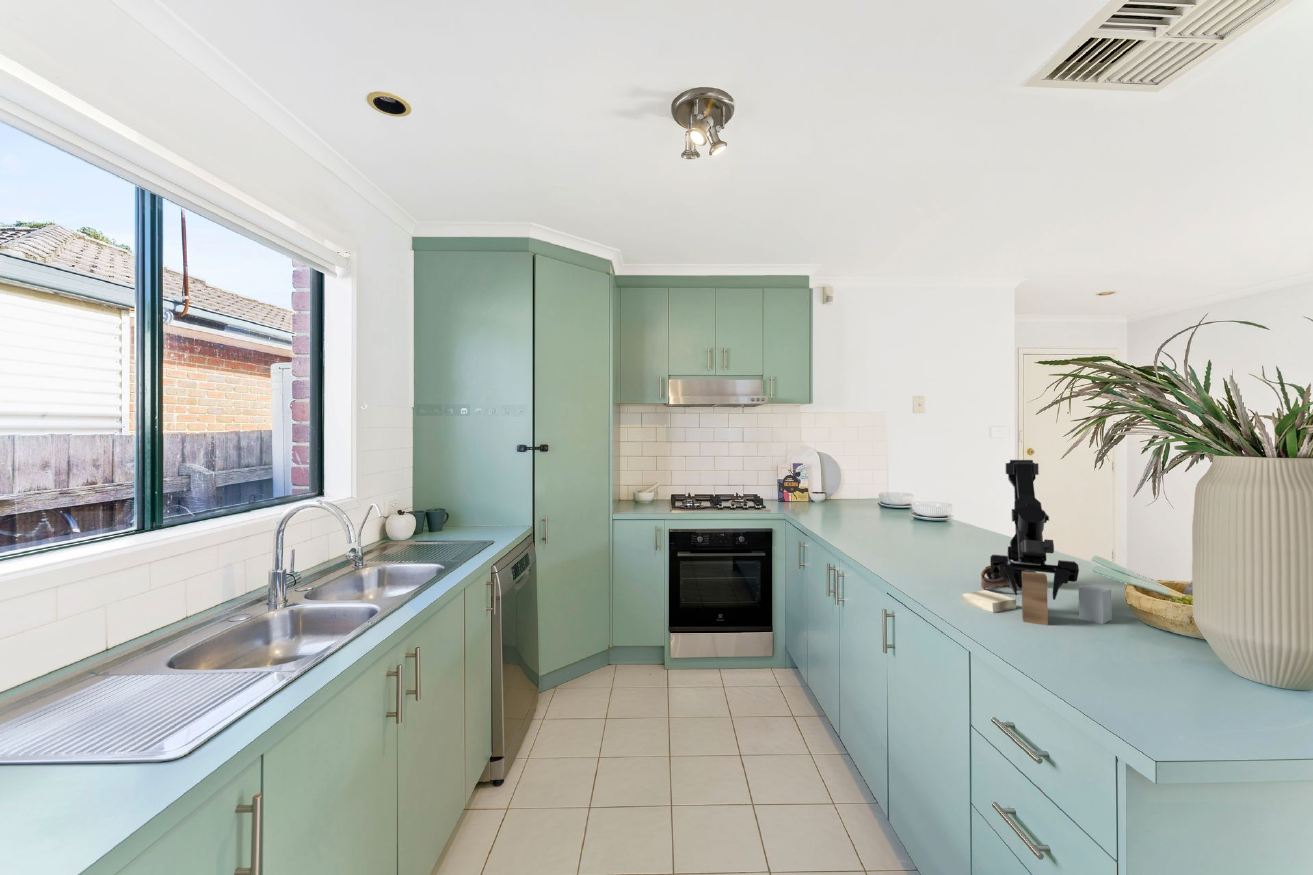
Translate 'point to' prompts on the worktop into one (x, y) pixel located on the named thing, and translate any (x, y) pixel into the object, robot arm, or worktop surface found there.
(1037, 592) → the walnut block
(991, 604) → the birch block
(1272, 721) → the worktop surface
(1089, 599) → the grey block
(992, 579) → the pottery mug
